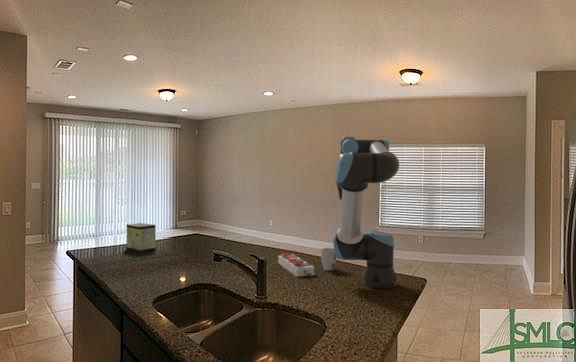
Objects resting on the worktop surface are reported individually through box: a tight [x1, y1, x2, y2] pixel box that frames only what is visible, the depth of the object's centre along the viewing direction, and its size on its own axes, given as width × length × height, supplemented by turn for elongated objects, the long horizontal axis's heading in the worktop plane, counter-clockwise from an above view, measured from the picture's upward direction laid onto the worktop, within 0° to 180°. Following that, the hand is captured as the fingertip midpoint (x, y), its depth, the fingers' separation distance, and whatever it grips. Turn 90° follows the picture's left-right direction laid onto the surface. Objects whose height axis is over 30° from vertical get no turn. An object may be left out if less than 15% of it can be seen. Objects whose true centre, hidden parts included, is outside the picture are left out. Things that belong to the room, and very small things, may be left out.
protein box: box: [126, 222, 157, 253], centre depth 245 cm, size 10×16×16 cm
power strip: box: [277, 254, 315, 277], centre depth 201 cm, size 34×9×4 cm, turn 19°
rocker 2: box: [287, 254, 297, 262], centre depth 203 cm, size 5×4×2 cm
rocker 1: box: [280, 252, 292, 256], centre depth 211 cm, size 5×4×2 cm
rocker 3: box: [292, 261, 303, 264], centre depth 194 cm, size 5×4×2 cm
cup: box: [320, 247, 337, 272], centre depth 203 cm, size 8×8×10 cm
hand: (347, 213), depth 203 cm, fingers closed
